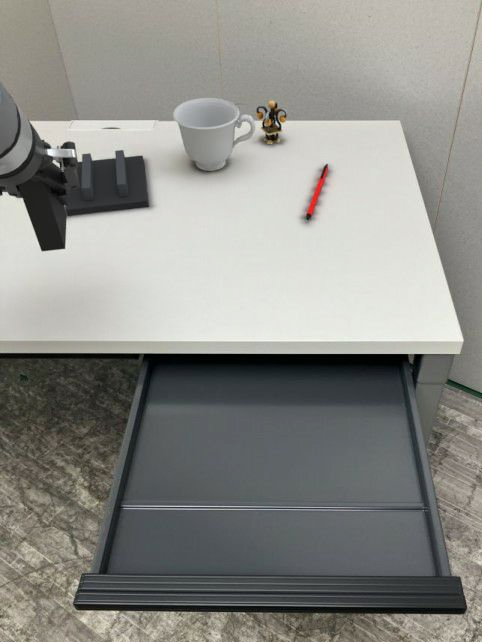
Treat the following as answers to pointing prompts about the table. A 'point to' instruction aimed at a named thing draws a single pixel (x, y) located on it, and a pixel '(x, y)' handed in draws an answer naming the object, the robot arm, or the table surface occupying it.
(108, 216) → the table surface
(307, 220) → the pen
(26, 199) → the foam pad
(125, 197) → the base pad
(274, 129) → the figurine
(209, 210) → the table surface
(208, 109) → the teacup
